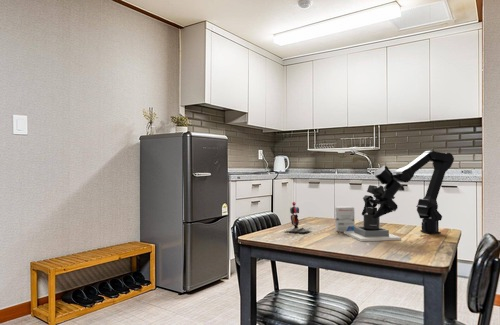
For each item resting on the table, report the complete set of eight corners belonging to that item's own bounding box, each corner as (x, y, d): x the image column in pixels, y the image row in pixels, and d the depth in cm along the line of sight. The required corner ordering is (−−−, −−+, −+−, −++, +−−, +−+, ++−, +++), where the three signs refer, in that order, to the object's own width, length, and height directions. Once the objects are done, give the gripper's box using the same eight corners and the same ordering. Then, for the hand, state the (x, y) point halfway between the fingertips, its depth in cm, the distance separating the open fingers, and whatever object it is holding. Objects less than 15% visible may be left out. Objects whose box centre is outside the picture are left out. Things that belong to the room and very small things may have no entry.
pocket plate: (379, 232, 169) (379, 224, 169) (400, 239, 151) (400, 231, 151) (343, 233, 166) (343, 225, 166) (361, 241, 148) (361, 232, 148)
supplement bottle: (372, 236, 154) (372, 208, 154) (360, 233, 160) (360, 207, 160) (382, 234, 157) (382, 207, 158) (370, 232, 163) (370, 206, 163)
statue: (284, 234, 170) (280, 203, 171) (292, 231, 178) (288, 201, 179) (305, 234, 164) (300, 202, 165) (312, 230, 172) (308, 200, 173)
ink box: (352, 230, 175) (352, 206, 175) (354, 231, 170) (354, 207, 170) (335, 229, 175) (335, 206, 176) (336, 231, 170) (336, 207, 171)
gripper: (366, 178, 169) (345, 202, 166) (391, 179, 151) (369, 206, 148) (380, 194, 171) (360, 218, 168) (407, 197, 153) (385, 224, 150)
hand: (368, 216), depth 158 cm, fingers open, 9 cm apart
